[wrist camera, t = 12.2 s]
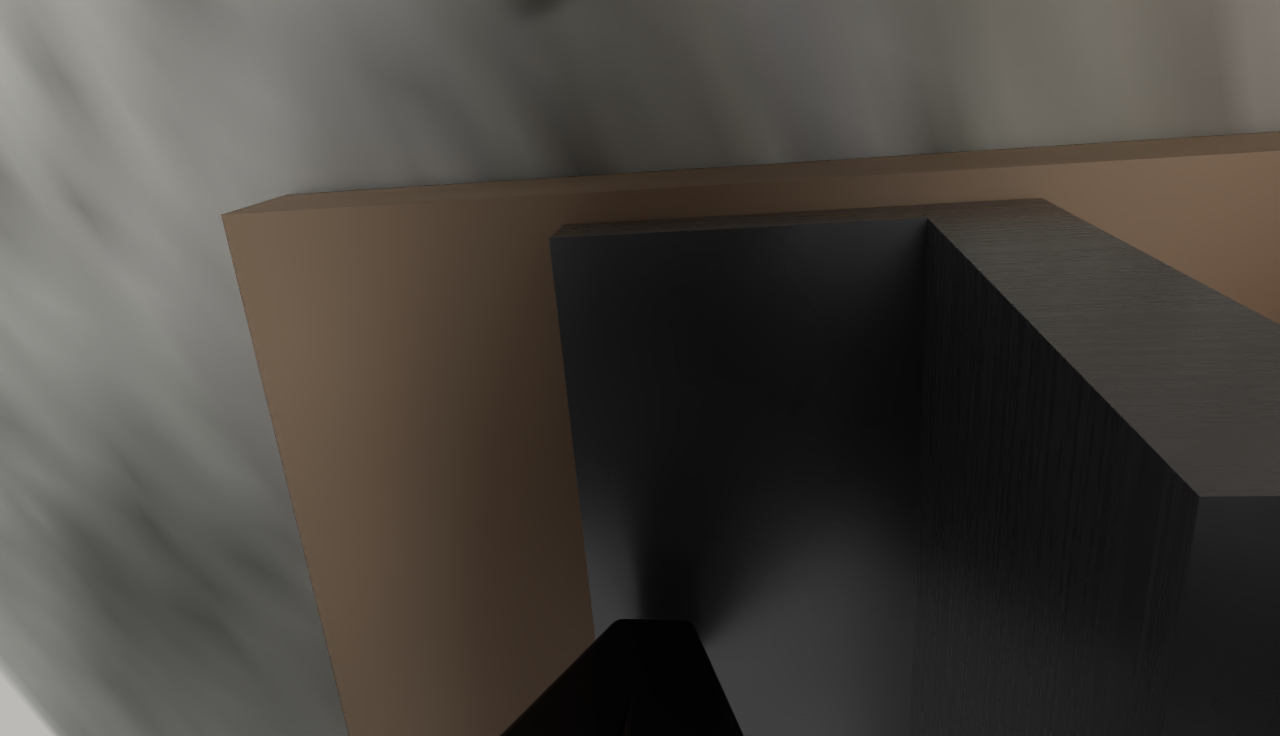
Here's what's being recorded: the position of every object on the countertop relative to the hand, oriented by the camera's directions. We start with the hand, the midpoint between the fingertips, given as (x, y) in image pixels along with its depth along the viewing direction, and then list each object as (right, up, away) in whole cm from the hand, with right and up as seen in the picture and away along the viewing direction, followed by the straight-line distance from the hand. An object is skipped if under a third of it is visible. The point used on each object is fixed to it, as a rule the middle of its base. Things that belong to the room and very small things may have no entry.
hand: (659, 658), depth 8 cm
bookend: (+1, 0, +1) cm, 2 cm away
